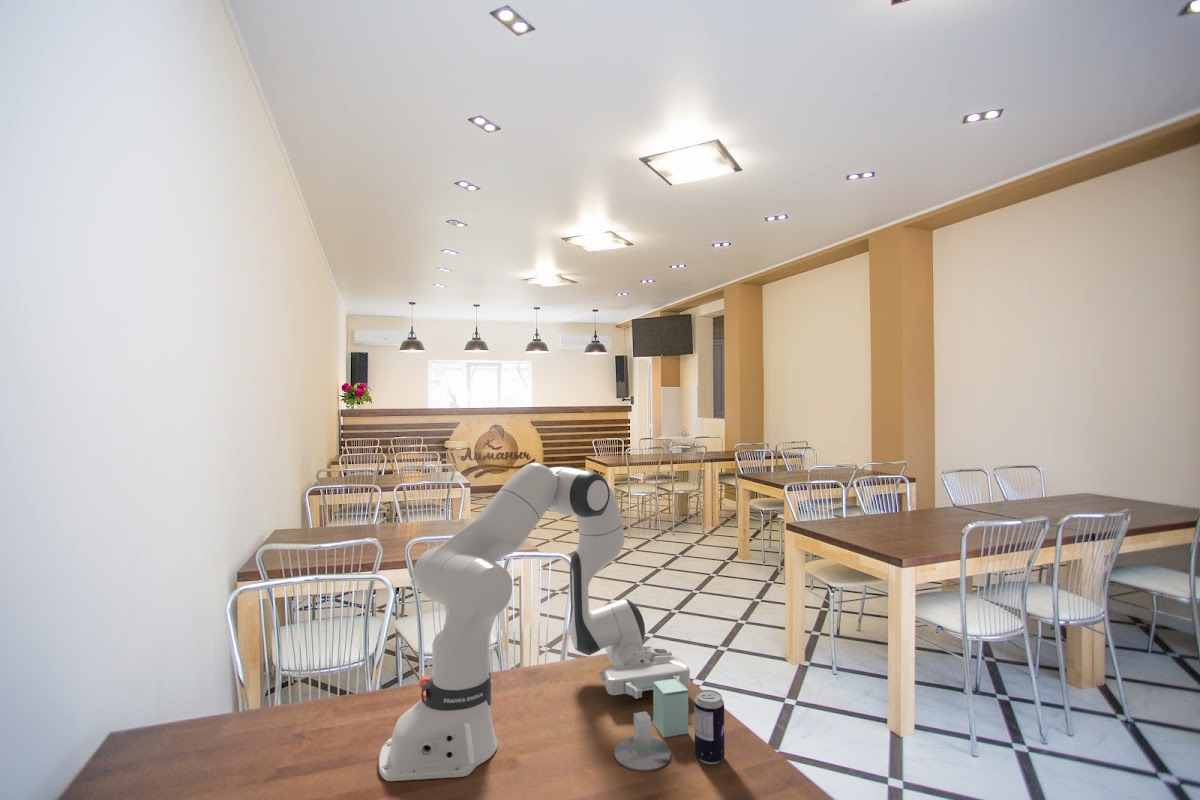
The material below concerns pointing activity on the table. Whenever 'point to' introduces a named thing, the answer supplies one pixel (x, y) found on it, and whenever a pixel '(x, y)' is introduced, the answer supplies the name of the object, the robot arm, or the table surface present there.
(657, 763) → the post
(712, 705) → the beverage can
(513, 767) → the table surface
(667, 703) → the mint green lidded box
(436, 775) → the robot arm
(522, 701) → the table surface
